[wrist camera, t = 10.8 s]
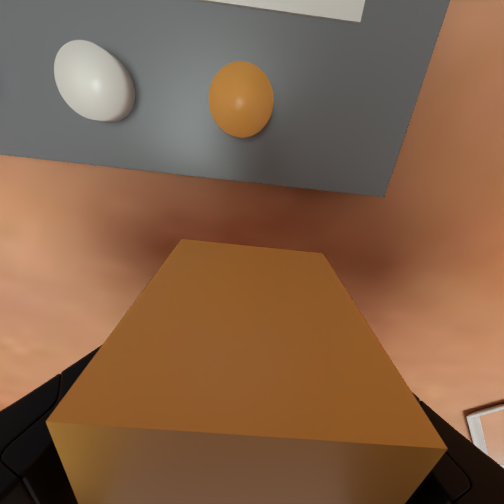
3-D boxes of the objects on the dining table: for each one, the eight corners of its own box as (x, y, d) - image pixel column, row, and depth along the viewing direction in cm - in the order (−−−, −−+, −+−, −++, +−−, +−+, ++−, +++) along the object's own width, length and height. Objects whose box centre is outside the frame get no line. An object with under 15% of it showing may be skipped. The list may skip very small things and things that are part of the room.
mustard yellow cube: (323, 253, 9) (447, 448, 3) (296, 355, 11) (343, 581, 5) (181, 238, 8) (45, 421, 3) (182, 346, 10) (105, 571, 5)
